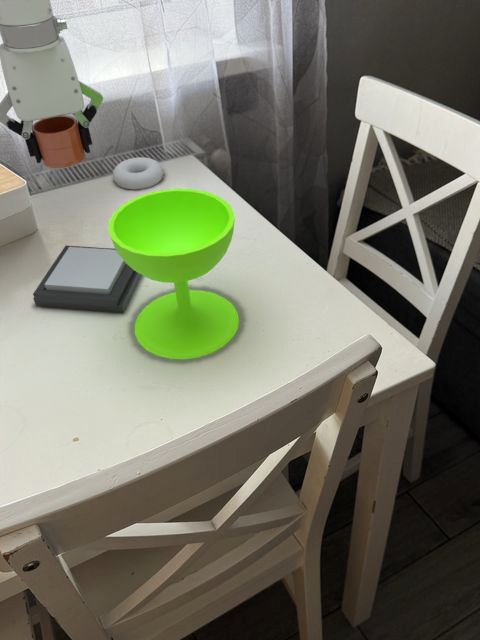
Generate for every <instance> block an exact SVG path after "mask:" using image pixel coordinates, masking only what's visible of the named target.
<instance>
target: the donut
mask: <svg viewBox="0 0 480 640" xmlns="http://www.w3.org/2000/svg"><path fill="white" fill-rule="evenodd" d="M163 176H164V169H163V166H162V165H161V163H159V161H157V160H155V159H153V158H150V157H140V156H139V157H131V158H129V159H125V160H123V161H120V162H119V163H118V164H117V165H116V166H115V167H114V169H113V171H112V177H113V181H114V182H115V183H116V185H117V186H119V187H121V188H122V189H125V190H129V191H130V190H133V191H134V190H135V191H136V190H137V191H138V190H146V189H149V188H153V187H154V186H156V185H158V184H159V183H160V182H161V181H162V180H163Z"/></svg>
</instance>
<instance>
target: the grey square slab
mask: <svg viewBox="0 0 480 640" xmlns="http://www.w3.org/2000/svg"><path fill="white" fill-rule="evenodd" d="M125 266H126V263H125V261H124V260H123V259H122V258H121V256H120V255H119V254H118V253H117V251H116V250H111V249H95V248H80V247H69V248H68V250H67V251H66V253H65V254H64V256H63V257H62V259H61V260H60V262H59V263H58V265H57V266H56V268H55V269H54V271H53V272H52V274H51V275H50V277H49V278H48V280H47V281H46V283H45V287H46V290H52V291H66V292H79V293H93V294H106V295H111V293H112V291H113V289H114V287H115V285H116V283H117V281H118V279H119V277H120V276H121V274H122V272H123V270H124V268H125Z"/></svg>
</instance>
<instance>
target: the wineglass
mask: <svg viewBox="0 0 480 640" xmlns="http://www.w3.org/2000/svg"><path fill="white" fill-rule="evenodd" d="M235 217H236V216H235V214H234V209H233V208H232V206H231V205H230V203H228V201H226V200H225V199H223V198H221V197H220V196H219V195H216V194H214V193H211V192H208V191H205V190H200V189H193V188H169V189H159V190H156V191H155V190H154V191H152V192H147V193H144V194H141V195H138V196H136V197H134V198H132V199H129V200H128V201H127V202H125V203H123V204H122V205H120V206H119V207H118V208H117V209H116V210H115V211H114V212H113V213H112V215H111V217H110V218H109V221H108V222H107V223H108V227H107V232H108V234H109V236H110V239H111V242H112V244H113V247H114V249H116V251H117V253H118V254H119V255H120V256H121V258H122V259H123V260H124V261H125V263H126V264H127V265H129V266H130V267H131V268H132V269H133V270H134V271H136V272H138V273H139V274H141V275H142V276H143V277H145V278H147V279H149V280H151V281H155V282H160V283H169V284H173V285H174V291H173V292H170V293H167V294H163V295H161V296H159V297H157V298H156V299H154V300H152V301H151V302H149V303H148V304H147V305H145V306H144V307H143V308H142V310H141V311H140V313H138V315H137V318H136V319H135V321H134V336H135V338H136V340H137V343H138V344H139V345H141V347H143V349H145V350H146V351H147V352H149V353H151V354H153V355H154V356H157V357H161V358H165V359H170V360H189V359H197V358H200V357H204V356H207V355H210V354H213V353H215V352H216V351H218V350H220V349H221V348H223V347H225V346H226V345H227V344H228V343H229V342H230V341H231V340H232V339H233V337H234V336H235V335H236V333H237V331H238V328H239V324H240V318H239V314H238V311H237V308H235V306H234V304H233V303H231V302H230V301H229V300H228V299H226V298H225V297H224V296H222V295H219V294H217V293H214V292H211V291H206V290H202V289H201V290H198V289H190V287H189V281H191V280H196V279H198V278H200V277H202V276H204V275H206V274H208V273H209V272H210V271H212V270H213V269H214V268H215V267H216V266H217V265H218V264H219V263H220V262H221V261H222V259H223V257H224V256H225V255H226V254H227V251H228V249H229V247H230V244H231V242H232V240H233V237H234V236H233V235H234V231H235V230H234V229H235Z"/></svg>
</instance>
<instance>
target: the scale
mask: <svg viewBox="0 0 480 640" xmlns="http://www.w3.org/2000/svg"><path fill="white" fill-rule="evenodd" d="M69 247H80V248H95V249H111V250H116V249H115V248H113V247H112V248H109V247H97V246H96V247H95V246H94V247H93V246H80V245H64V247H63V248H62V250H61V252H60V253H59V254H58V256H57V257H56V259H55V260H54V261H53V263H52V265H51V266H50V268H49V269H48V270H47V272H46V274H45V275H44V277H43V278H42V280H41V282H40V283H39V284H38V286H37V287H36V288H35V290H34V291H33V293H32V296H33V298H32V299H33V303H34V304H35V307H38V308H39V307H42V308H54V309H66V310H79V311H90V312H91V311H92V312H103V313H116V314H117V313H118V314H124V313H125V311H126V310H127V307H128V305H129V304H130V301H131V299H132V297H133V295H134V292H135V291H136V289H137V286H138V284H139V282H140V280H141V278H142V276H143V275H141V274H139V273H138V272H136V271H134V270H133V269H132V268H131V267H130V266H129V265H127V264H126V266H125V268H124V270H123V272H122V274H121V276H120V277H119V279H118V281H117V283H116V285H115V287H114V289H113V291H112V293H111V295H106V294H93V293H79V292H66V291H52V290H46V287H45V283H46V281H47V280H48V278H49V277H50V275H51V274H52V272H53V271H54V269H55V268H56V266H57V265H58V263H59V262H60V260H61V259H62V257H63V256H64V254H65V253H66V251H67V250H68V248H69Z"/></svg>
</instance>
